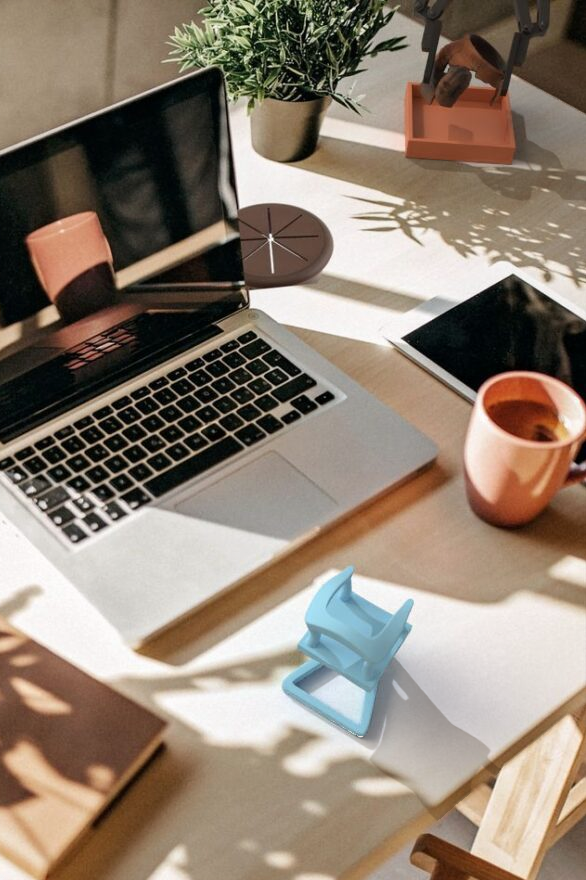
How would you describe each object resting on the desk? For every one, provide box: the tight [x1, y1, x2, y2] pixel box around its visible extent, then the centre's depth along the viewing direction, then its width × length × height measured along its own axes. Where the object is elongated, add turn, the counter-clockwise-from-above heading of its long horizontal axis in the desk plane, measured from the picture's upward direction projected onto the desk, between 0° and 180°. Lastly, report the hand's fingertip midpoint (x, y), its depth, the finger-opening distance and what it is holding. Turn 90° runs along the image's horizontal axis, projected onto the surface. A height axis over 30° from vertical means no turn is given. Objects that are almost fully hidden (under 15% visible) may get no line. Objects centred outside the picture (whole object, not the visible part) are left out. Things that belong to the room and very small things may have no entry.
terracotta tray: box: [404, 81, 516, 165], centre depth 125 cm, size 13×13×2 cm
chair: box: [281, 565, 415, 737], centre depth 75 cm, size 8×8×12 cm
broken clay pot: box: [420, 31, 507, 108], centre depth 120 cm, size 12×10×8 cm
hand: (464, 86), depth 118 cm, fingers closed on broken clay pot, 9 cm apart
